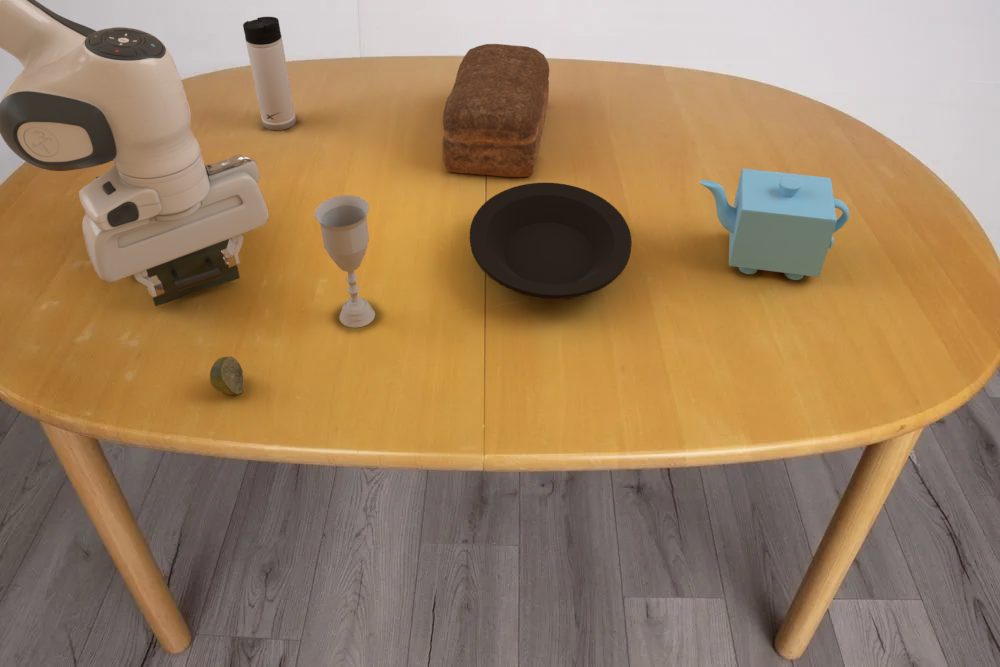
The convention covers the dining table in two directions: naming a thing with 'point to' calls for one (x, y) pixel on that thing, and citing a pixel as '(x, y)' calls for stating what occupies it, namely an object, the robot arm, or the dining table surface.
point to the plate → (550, 240)
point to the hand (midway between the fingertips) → (195, 278)
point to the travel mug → (270, 72)
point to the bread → (496, 111)
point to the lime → (227, 376)
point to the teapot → (779, 222)
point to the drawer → (193, 273)
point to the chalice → (347, 249)
